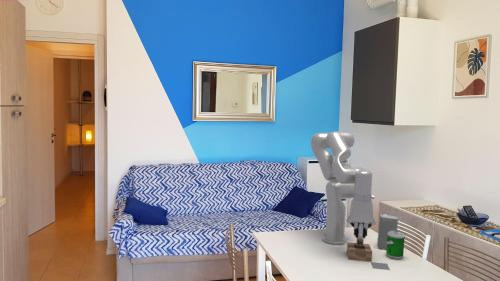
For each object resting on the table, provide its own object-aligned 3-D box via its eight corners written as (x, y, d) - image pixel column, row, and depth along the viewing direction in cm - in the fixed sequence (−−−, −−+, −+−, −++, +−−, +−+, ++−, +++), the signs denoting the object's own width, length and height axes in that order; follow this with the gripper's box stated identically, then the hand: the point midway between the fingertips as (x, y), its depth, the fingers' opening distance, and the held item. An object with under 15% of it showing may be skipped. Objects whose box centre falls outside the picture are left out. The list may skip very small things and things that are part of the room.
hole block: (346, 252, 186) (347, 242, 186) (368, 254, 184) (369, 244, 184) (348, 260, 176) (349, 249, 176) (371, 262, 175) (372, 251, 174)
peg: (356, 242, 181) (357, 221, 181) (362, 242, 181) (364, 221, 180) (356, 244, 178) (357, 222, 178) (363, 244, 178) (364, 223, 177)
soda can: (402, 255, 184) (403, 230, 183) (404, 261, 177) (405, 235, 176) (385, 253, 186) (386, 228, 185) (386, 259, 179) (388, 233, 178)
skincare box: (378, 248, 193) (380, 217, 191) (377, 244, 200) (378, 213, 198) (396, 250, 191) (398, 218, 189) (394, 245, 198) (396, 215, 196)
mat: (370, 262, 174) (370, 262, 174) (387, 264, 173) (387, 263, 173) (372, 269, 167) (372, 268, 167) (390, 270, 166) (390, 269, 166)
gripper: (379, 197, 180) (377, 236, 182) (343, 194, 183) (341, 233, 184) (382, 200, 173) (380, 241, 174) (344, 198, 176) (342, 238, 177)
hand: (360, 236), depth 179 cm, fingers closed on peg, 3 cm apart
